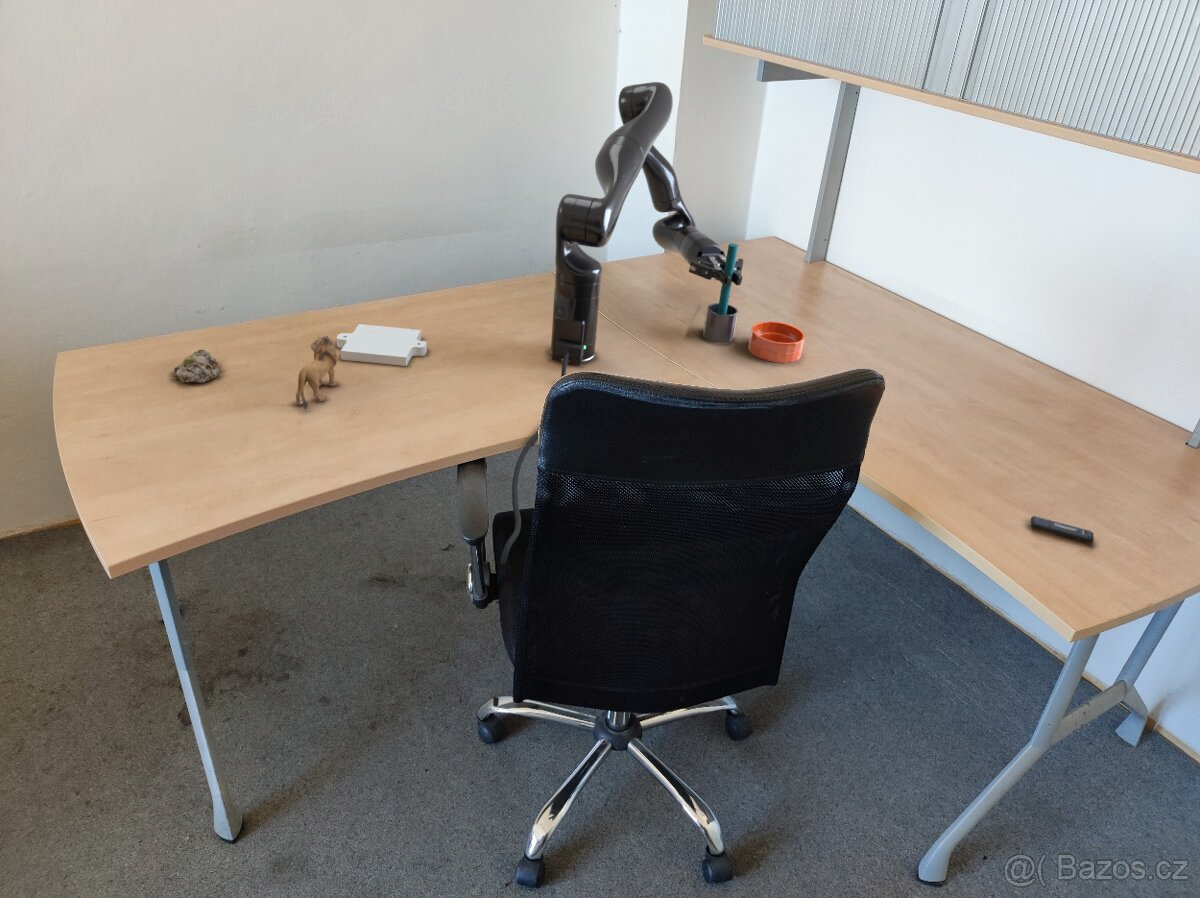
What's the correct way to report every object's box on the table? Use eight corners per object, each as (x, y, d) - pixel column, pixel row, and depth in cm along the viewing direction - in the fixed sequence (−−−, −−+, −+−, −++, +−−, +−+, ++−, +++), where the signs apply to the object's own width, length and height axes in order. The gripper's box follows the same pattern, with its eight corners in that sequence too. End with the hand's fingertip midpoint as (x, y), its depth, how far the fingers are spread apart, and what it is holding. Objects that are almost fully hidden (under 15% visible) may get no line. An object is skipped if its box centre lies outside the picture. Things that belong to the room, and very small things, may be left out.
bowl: (797, 369, 190) (802, 347, 187) (744, 358, 192) (748, 337, 189) (802, 347, 199) (807, 327, 197) (751, 337, 202) (755, 317, 199)
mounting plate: (328, 358, 175) (327, 349, 174) (347, 331, 186) (347, 322, 185) (419, 367, 175) (418, 358, 174) (432, 339, 186) (432, 331, 185)
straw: (723, 329, 198) (737, 247, 187) (714, 327, 198) (728, 245, 188) (724, 326, 199) (738, 244, 189) (715, 324, 200) (729, 242, 190)
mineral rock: (214, 375, 161) (167, 362, 159) (210, 395, 163) (164, 383, 161) (230, 351, 170) (186, 339, 168) (226, 370, 172) (183, 359, 170)
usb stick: (1029, 529, 146) (1032, 521, 145) (1029, 520, 148) (1032, 513, 147) (1091, 545, 143) (1095, 538, 142) (1090, 537, 145) (1093, 529, 144)
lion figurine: (314, 373, 170) (310, 330, 165) (343, 375, 170) (339, 332, 165) (291, 410, 157) (286, 365, 152) (321, 413, 157) (317, 367, 153)
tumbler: (730, 346, 196) (735, 317, 193) (700, 340, 198) (704, 311, 194) (734, 335, 202) (740, 306, 198) (705, 329, 203) (710, 301, 200)
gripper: (675, 237, 199) (707, 265, 186) (731, 236, 204) (766, 263, 190) (671, 269, 203) (702, 299, 190) (725, 267, 208) (759, 296, 194)
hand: (734, 281), depth 190 cm, fingers closed on straw, 2 cm apart
